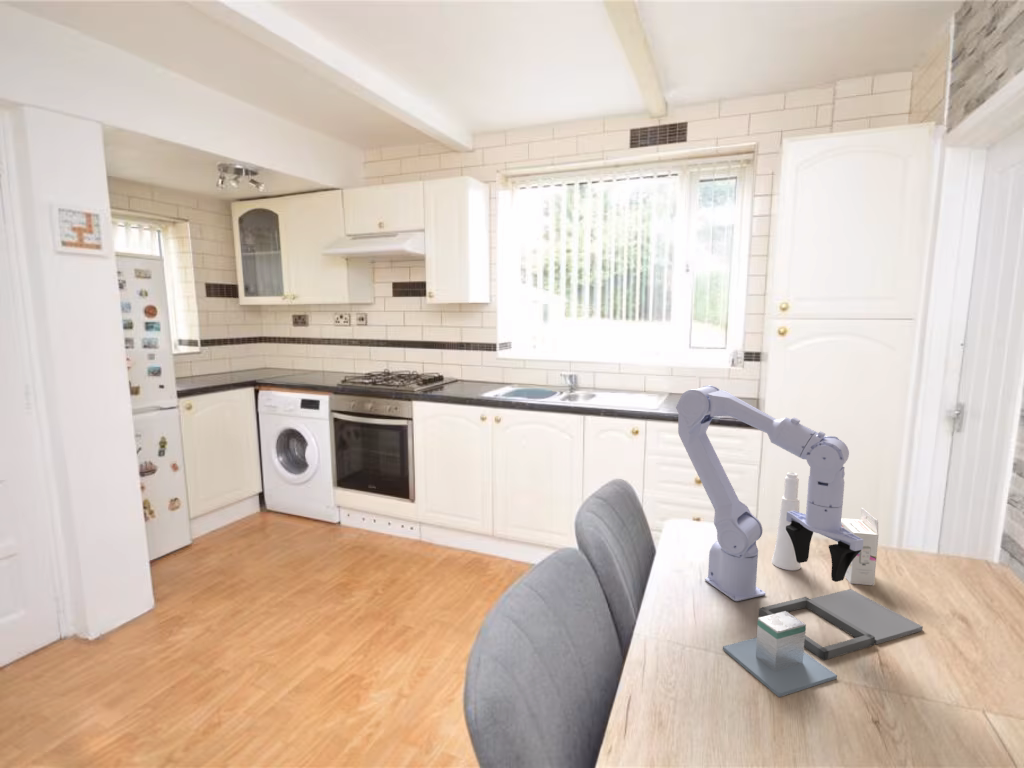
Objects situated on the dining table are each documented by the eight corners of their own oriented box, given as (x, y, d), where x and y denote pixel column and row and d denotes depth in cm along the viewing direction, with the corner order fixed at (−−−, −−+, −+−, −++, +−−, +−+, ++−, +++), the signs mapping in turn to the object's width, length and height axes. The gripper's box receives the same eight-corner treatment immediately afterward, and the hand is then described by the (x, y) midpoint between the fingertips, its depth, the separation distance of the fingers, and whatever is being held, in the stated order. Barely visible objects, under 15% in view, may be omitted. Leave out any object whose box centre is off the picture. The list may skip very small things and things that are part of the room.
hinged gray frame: (758, 615, 100) (759, 608, 100) (850, 592, 108) (850, 585, 108) (823, 660, 87) (824, 652, 86) (922, 630, 95) (923, 623, 94)
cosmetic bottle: (803, 572, 116) (810, 478, 113) (773, 568, 118) (779, 476, 115) (797, 560, 122) (804, 470, 119) (769, 556, 124) (775, 468, 121)
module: (755, 656, 87) (757, 617, 86) (782, 648, 89) (785, 610, 88) (774, 671, 83) (777, 631, 82) (803, 663, 85) (805, 624, 84)
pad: (722, 649, 90) (722, 646, 89) (775, 635, 93) (776, 632, 93) (778, 697, 78) (779, 693, 78) (836, 678, 82) (837, 675, 82)
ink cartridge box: (833, 565, 120) (838, 504, 118) (857, 567, 119) (862, 506, 117) (849, 584, 111) (855, 519, 109) (875, 586, 110) (881, 520, 108)
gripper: (878, 513, 91) (871, 585, 93) (806, 487, 104) (802, 551, 106) (849, 518, 88) (842, 592, 90) (780, 491, 102) (775, 556, 104)
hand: (819, 570), depth 98 cm, fingers open, 7 cm apart
